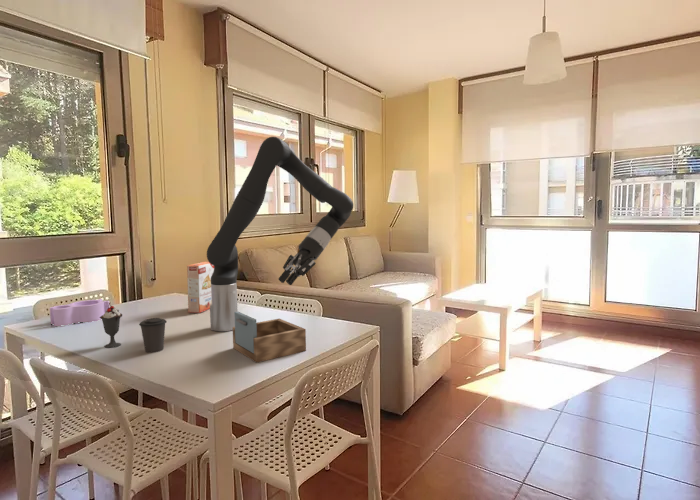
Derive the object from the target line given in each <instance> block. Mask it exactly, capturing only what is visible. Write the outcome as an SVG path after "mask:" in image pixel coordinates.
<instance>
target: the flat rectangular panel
mask: <svg viewBox="0 0 700 500" xmlns="http://www.w3.org/2000/svg"><path fill="white" fill-rule="evenodd" d="M234 314H235V343H237V344H239V345H240V346H242V347H244V348H245V349H247V350H249V351H250V352H252V353H254V338H257V325H256V323H257V319H256V318H253V317H251V316H249V315H247V314H244V313H242V312H241V311H238V312H234Z"/></svg>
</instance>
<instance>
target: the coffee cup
mask: <svg viewBox="0 0 700 500" xmlns="http://www.w3.org/2000/svg"><path fill="white" fill-rule="evenodd" d="M166 323H167V320H166V319H165V318H160V317H153V318H152V317H151V318H148V319H145V320H142V321H140V322H139V324H138V325H139V326H140V328H141V336H142V339H143V340H142V341H143V346H144V351H145V352H146V353H148V354H149V353H153V354H154V353H158V352H162V351H163V350H164V345H165V335H166V334H165V331H166Z"/></svg>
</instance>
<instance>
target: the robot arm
mask: <svg viewBox="0 0 700 500" xmlns="http://www.w3.org/2000/svg"><path fill="white" fill-rule="evenodd" d="M256 154H257V155H256V157H255V159H254V162H253V164H252V167H251V168H250V170H249V173H248V174H247V176H246V177H245V180H244V182H243V184H242V186H241V187H240V189H239V191H238V193H237V195H236V197H235V199H234V201H233V202H232V204H231V207H230V209H229V210H228V213H227V214H226V217H225V219H224V220H223V223H222V226H221V227H220V229H219V231H217V234H216V235H215V236H214V238H213V239H212V240H211V242H210V243H209V246H208V247H207V249H206V250H207V251H206V258H207V262H209V263H210V264H212V265H214V272H213V274H212V276H211V298H212V304H211V305H210V309H209V317H210V318H209V319H210V321H209V322H210V331H216V332H229V331H230V332H231V331H233V327H235V314H234V312H239V310H238V287H237V286H238V285H237V284H238V283H237V282H238V280H237V279H238V273H239V254H238V253H239V251H238V247H237V246H236V244H237V242H238V239H239V238H240V236H241V235H242V233H244V232H245V230H246V229H247V228H248V226H250V224H251V223H252V221H254V219H255V217H256V215H257V214H258V213H259V210H260V209H261V206H262V205H263V204H264V200H265V198H266V193H267V187H268V183H269V180H270V178H271V175H272V174H273V172H274V171H275V168H276V167H279V168H280V169H282V170H284V171H285V172H287V173H288V174H290V176H292V177H293V178H294V180H296V181H297V182H298V183H299V184H300V185H301V187H302V188H303V189H304V190H305V191H306V192H307V193H308V194H309V195H311V196H312V197H313V198H314V199H315V200H317V201H318V202H320V203H322V204H325V203H326V204H328V205H329V206H331V208H330V210H329V211H328V213H326V215H324V216H323V217H322V218H320V220H319V221H318V222H317V223H316V225H315V226H314V227H313V228H312V229H311V230H310V231H309V232H308V233H307V235H306V236H305V237H304V239H303V240H302V241H301V242H300V244H299V245H298V250H299V251H298V252H297V253H296V254H295V255H292V254H290V255H289V256H288V258H287V259H286V261H285V263H284V264H283V266H282V268H283V272H282V273H281V275H280V276H279V277H278V281H279V282H280V283H282V284H284V283H285V282H286V283H287V284H288V285H289V286H292V285H293V284H294V282H295V281H296V280H297V279H298V277H301V276H302V277H303V276H305V275H306V274H307V273H308V272H310V270H311V269H312V268H313V267H314V266H316V262H315V261H316V260H317V259H318V258H319V257H320V256H321V254H322V253H323V252H324V251H325V249H326V248H327V246H328V245H329V243H330V242H331V240H332V239H333V237H334V236H335V235H336V234H337V232H338V230H339V229H340V228H341V227H342V226H343V225H345V223H346V221H348V219H349V218H350V216H351V214H352V212H353V209H354V201H353V200H352V198H351V197H350V196H349V195H347V193H345V192H343V191H341V190H339V189H338V188H336V187H335V186H334V187H333V186H332V185H331V184H330V183H328V181H326V180H325V179H324V178H323V177H322V176H320V175H319V174H318V173H317V172H315V171H314V170H313V169H311V168H310V167H309V166H307V165H306V164H305V163H304V162H303V161H302V160H301V159H300V158H299V157H298V156H297V155H296V154H295V153H294V151H293V149H291V147H290V146H289V144H288V143H287V142H285V141H284V140H282V139H281V138H280V137H277V136H269V137H267V138H265V139H264V140H263V141H262V143H261V145H260V146H259V149H258V152H257V153H256Z"/></svg>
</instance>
